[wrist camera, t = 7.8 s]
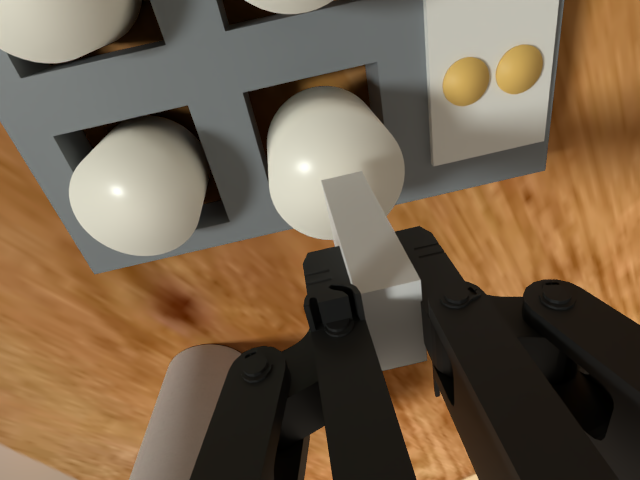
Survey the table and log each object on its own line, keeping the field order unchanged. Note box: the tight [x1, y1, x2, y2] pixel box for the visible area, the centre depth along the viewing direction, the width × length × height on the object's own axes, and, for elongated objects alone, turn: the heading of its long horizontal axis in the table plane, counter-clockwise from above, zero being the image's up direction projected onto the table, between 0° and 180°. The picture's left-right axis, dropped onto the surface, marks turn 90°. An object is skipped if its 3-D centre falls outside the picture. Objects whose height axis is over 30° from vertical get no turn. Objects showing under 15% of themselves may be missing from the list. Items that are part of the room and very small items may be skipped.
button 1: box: [69, 116, 210, 256], centre depth 21 cm, size 6×6×4 cm
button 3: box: [267, 86, 405, 240], centre depth 19 cm, size 6×6×4 cm
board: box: [0, 0, 564, 274], centre depth 20 cm, size 18×26×4 cm
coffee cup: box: [129, 344, 241, 480], centre depth 27 cm, size 10×10×15 cm
